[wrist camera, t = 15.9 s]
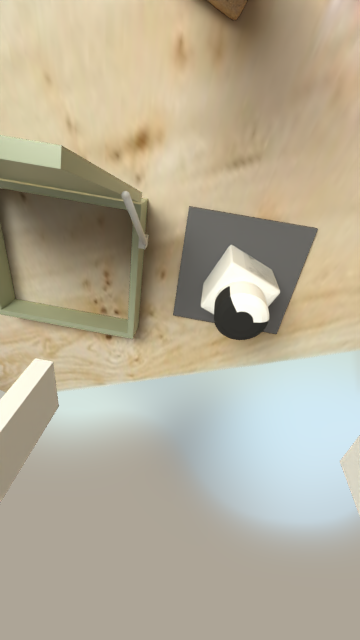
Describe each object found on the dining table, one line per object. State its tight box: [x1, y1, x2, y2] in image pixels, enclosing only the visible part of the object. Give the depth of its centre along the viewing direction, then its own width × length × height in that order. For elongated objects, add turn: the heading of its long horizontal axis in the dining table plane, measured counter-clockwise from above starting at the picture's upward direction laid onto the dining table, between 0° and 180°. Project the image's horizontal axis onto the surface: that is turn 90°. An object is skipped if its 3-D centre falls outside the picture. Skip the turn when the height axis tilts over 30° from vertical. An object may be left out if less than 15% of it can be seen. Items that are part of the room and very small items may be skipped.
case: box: [0, 178, 148, 339], centre depth 40 cm, size 25×25×15 cm
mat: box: [173, 206, 318, 334], centre depth 46 cm, size 18×18×1 cm
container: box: [201, 245, 280, 340], centre depth 40 cm, size 8×8×13 cm
